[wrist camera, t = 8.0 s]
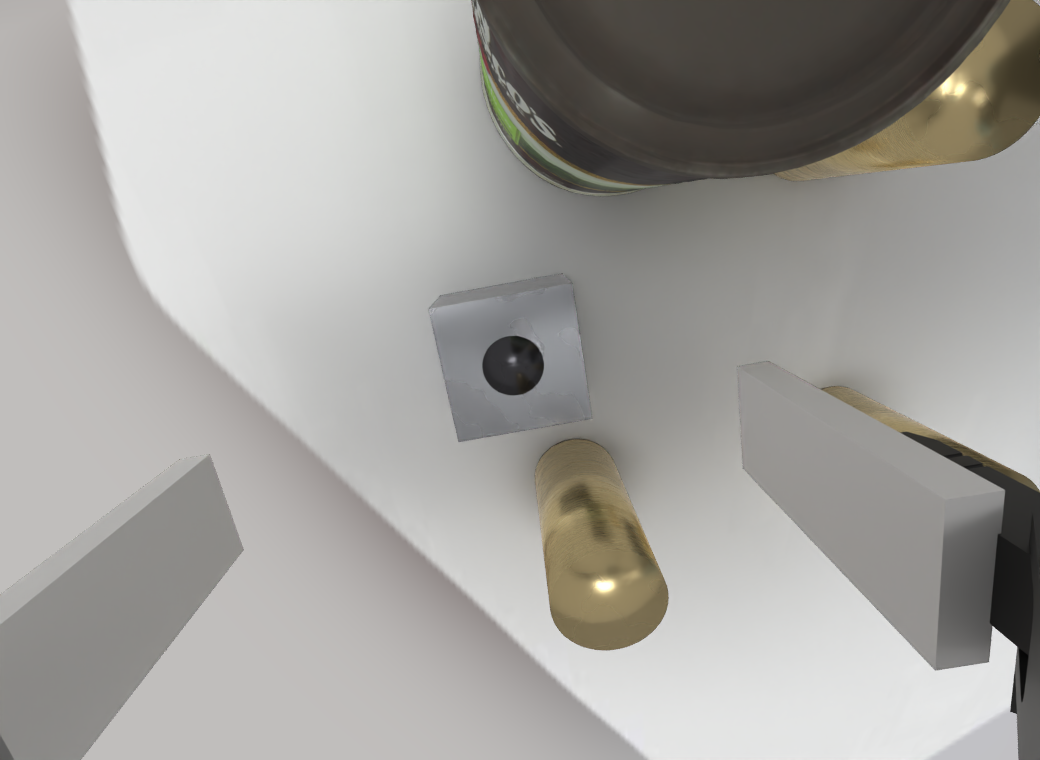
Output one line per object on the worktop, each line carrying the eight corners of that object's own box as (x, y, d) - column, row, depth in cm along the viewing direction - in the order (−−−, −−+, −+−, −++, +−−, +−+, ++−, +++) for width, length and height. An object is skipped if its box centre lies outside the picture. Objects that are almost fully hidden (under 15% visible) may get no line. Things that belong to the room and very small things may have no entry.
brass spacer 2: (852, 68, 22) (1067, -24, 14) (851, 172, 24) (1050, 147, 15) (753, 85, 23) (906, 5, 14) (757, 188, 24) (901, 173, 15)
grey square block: (562, 272, 25) (572, 283, 21) (579, 389, 26) (592, 419, 22) (440, 294, 25) (428, 309, 21) (465, 409, 26) (458, 442, 22)
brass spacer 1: (609, 431, 27) (660, 540, 18) (621, 503, 28) (674, 638, 19) (527, 448, 27) (539, 564, 18) (543, 519, 28) (561, 659, 19)
